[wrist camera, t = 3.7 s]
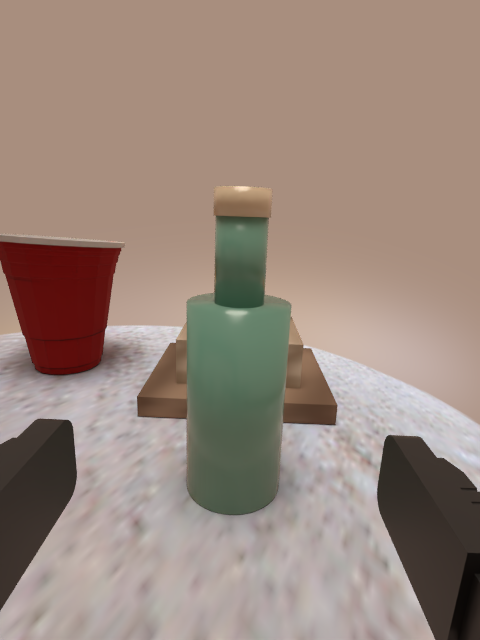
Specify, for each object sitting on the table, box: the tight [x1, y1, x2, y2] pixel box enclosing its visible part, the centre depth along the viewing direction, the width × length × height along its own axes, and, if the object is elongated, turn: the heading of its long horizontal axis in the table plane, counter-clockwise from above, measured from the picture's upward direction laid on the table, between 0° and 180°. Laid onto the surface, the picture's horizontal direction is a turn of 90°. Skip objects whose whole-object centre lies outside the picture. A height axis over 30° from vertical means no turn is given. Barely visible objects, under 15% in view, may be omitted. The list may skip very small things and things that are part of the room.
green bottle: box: [187, 186, 291, 515], centre depth 19 cm, size 5×5×15 cm
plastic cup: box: [0, 234, 125, 374], centre depth 35 cm, size 11×11×12 cm
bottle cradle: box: [137, 317, 337, 425], centre depth 33 cm, size 14×12×5 cm
